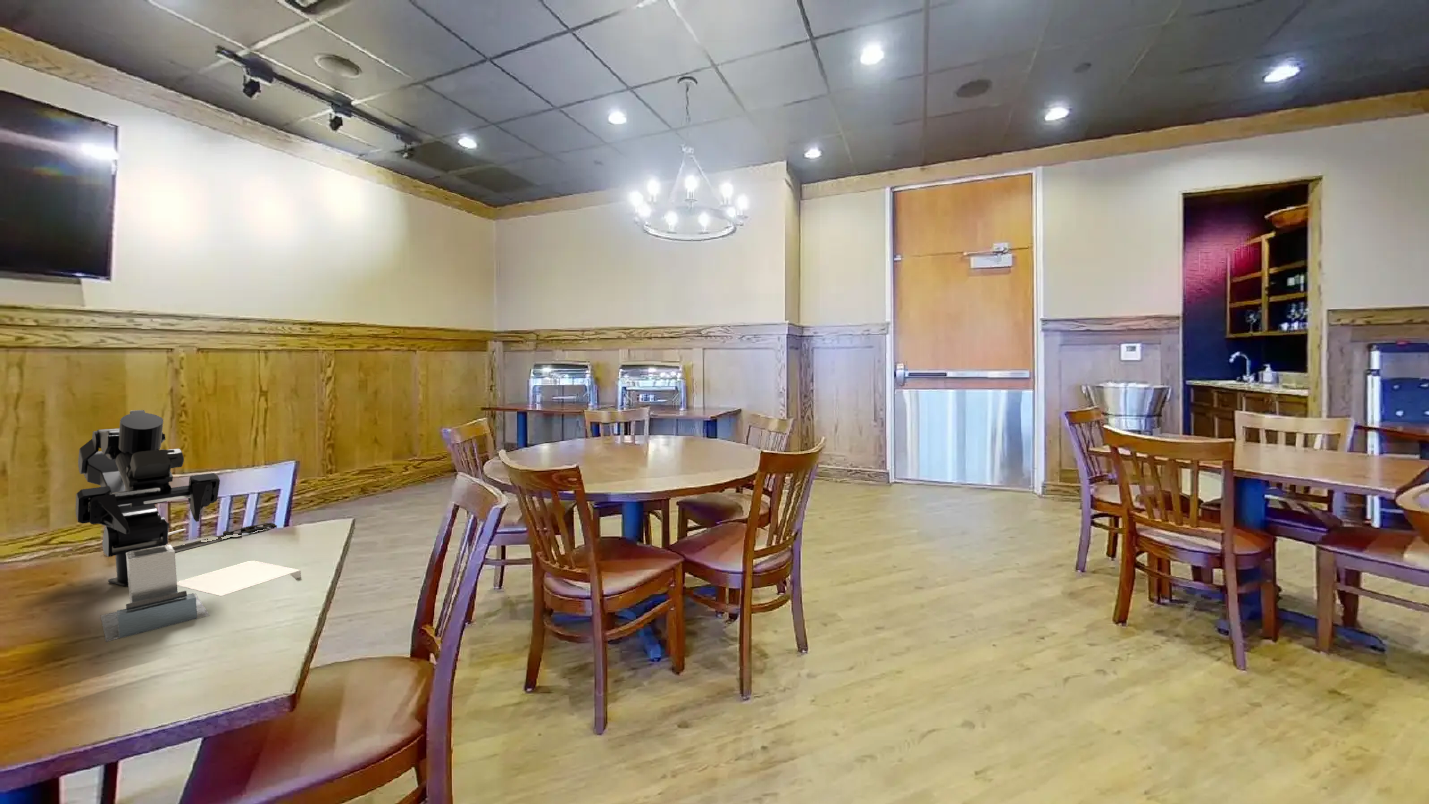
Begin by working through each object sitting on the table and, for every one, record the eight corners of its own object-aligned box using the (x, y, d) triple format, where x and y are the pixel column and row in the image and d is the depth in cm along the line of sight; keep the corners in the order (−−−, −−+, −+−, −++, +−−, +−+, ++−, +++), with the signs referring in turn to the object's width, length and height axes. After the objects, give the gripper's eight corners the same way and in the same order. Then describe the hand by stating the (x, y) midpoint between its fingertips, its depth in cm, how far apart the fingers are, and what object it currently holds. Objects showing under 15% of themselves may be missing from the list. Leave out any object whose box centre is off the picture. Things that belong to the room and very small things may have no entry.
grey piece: (101, 623, 96) (98, 588, 96) (196, 601, 106) (194, 569, 105) (106, 651, 87) (103, 612, 87) (210, 623, 96) (207, 588, 96)
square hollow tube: (130, 616, 96) (126, 552, 95) (174, 605, 100) (170, 544, 99) (133, 625, 93) (128, 559, 92) (179, 614, 97) (174, 551, 96)
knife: (158, 559, 130) (157, 553, 130) (144, 554, 133) (144, 548, 133) (281, 529, 153) (281, 524, 153) (267, 526, 155) (267, 521, 155)
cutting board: (171, 591, 110) (170, 583, 110) (252, 566, 123) (251, 560, 123) (221, 603, 104) (221, 595, 104) (301, 577, 117) (300, 570, 117)
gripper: (70, 444, 98) (88, 501, 91) (210, 433, 113) (235, 481, 106) (68, 494, 102) (86, 552, 95) (204, 477, 117) (228, 526, 110)
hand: (164, 525), depth 102 cm, fingers open, 9 cm apart
